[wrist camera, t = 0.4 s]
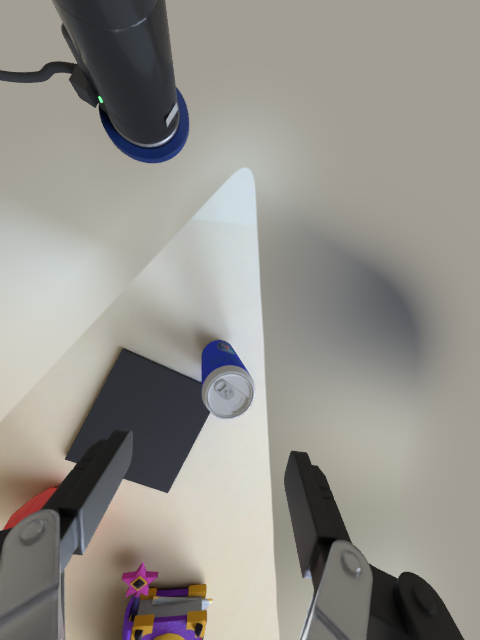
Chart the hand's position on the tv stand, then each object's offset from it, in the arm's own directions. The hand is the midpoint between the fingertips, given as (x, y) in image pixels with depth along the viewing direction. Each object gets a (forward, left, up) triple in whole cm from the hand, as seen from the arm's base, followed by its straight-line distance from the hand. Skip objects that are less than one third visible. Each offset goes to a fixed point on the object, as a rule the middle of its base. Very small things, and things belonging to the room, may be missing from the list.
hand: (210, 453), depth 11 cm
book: (+15, -43, -24) cm, 52 cm away
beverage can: (+2, 0, -24) cm, 24 cm away
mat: (-3, -14, -24) cm, 28 cm away
